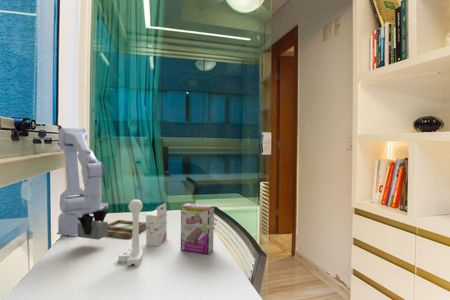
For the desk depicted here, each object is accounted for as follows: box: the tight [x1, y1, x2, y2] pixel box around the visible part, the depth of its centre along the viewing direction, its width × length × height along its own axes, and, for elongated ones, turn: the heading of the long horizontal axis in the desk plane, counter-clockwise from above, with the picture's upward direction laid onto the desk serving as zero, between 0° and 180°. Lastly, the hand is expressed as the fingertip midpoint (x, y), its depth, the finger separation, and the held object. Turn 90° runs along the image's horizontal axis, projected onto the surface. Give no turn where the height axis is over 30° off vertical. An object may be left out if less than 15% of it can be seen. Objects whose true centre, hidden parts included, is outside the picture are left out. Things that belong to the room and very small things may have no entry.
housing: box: [77, 219, 109, 241], centre depth 105 cm, size 9×5×6 cm, turn 74°
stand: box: [106, 219, 146, 240], centre depth 122 cm, size 14×14×3 cm
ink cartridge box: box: [145, 202, 168, 247], centre depth 110 cm, size 9×5×15 cm, turn 168°
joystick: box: [117, 198, 144, 267], centre depth 93 cm, size 11×8×20 cm
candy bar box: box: [180, 202, 215, 255], centre depth 102 cm, size 11×5×16 cm, turn 71°
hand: (93, 231), depth 105 cm, fingers closed on housing, 5 cm apart
